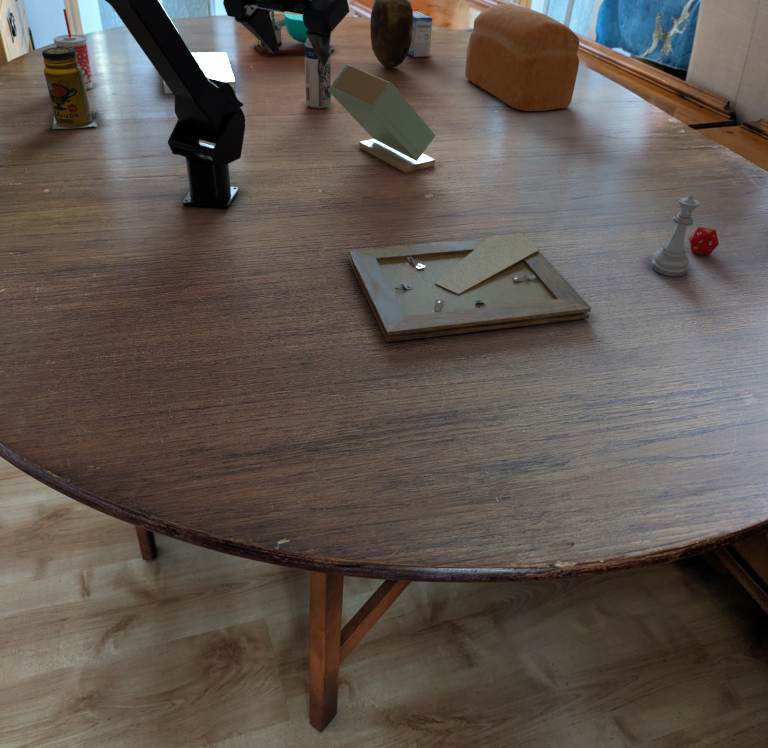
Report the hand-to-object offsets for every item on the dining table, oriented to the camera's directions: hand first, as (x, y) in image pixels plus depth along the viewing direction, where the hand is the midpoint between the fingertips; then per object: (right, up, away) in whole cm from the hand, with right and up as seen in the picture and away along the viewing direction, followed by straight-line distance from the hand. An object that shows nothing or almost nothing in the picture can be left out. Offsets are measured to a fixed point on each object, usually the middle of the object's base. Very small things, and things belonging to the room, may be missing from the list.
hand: (300, 57), depth 110 cm
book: (-27, +14, +43) cm, 52 cm away
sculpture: (+14, +22, +55) cm, 60 cm away
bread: (+40, +11, +43) cm, 60 cm away
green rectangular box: (+16, -9, +9) cm, 20 cm away
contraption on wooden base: (-9, +31, +65) cm, 72 cm away
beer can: (0, +4, +30) cm, 30 cm away
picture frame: (+22, -38, -24) cm, 50 cm away
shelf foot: (+15, -12, +10) cm, 22 cm away
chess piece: (+49, -35, -18) cm, 63 cm away
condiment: (-42, -4, +18) cm, 46 cm away
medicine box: (+20, +30, +66) cm, 75 cm away
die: (+55, -32, -14) cm, 65 cm away
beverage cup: (-48, +9, +34) cm, 59 cm away
